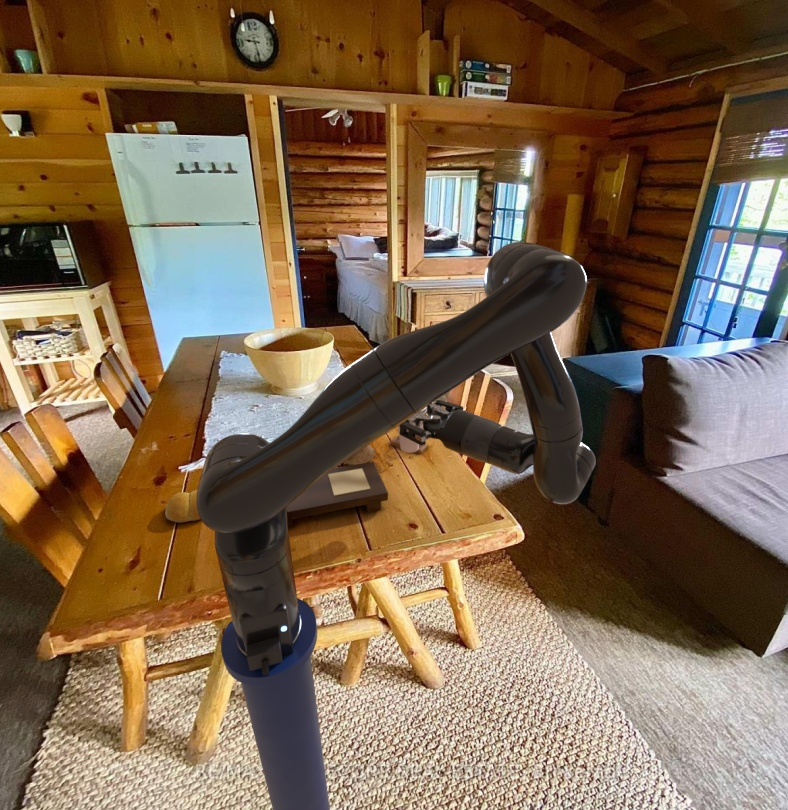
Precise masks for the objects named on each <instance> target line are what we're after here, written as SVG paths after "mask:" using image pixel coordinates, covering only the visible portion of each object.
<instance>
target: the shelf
mask: <svg viewBox="0 0 788 810" xmlns="http://www.w3.org/2000/svg"><path fill="white" fill-rule="evenodd" d="M386 501H389V492H388V489H387V488H386V485H385V484H384V481H383V479H382V476H381V475H380V473H379V471H378V468H377V466H376V463H375V461H369V462H367V463H362V464H356V465H345V466H337V467H336V468H334V469H333V470H331V471H330V472H328V473H327V474H326V475H324V476H323V477H322V478H320V479H319V480H318V481H317V482H315V483H314V484H313V485H312V486H310V487H309V488H308V489H307V490H306V491H304V492H303V493H302V494H301V495H300V496H298V497H297V498H296V499H295V500H294V501H292V502H291V503H290V504H289V505H288V506H287V516H288V529H289V528H290V529H291V528H294V523H293V520H295V519H300V518H305V517H311V516H315V515H320V514H326V513H330V512H335V511H341V510H346V509H351V508H355V507H361V506H364V508H365V510H366V512H367V513H370V512H374V511H375V512H376V511H380V510H382V502H386Z"/></svg>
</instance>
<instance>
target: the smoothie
mask: <svg viewBox="0 0 788 810" xmlns="http://www.w3.org/2000/svg"><path fill="white" fill-rule="evenodd" d="M426 412H427V407H425V408H424V409H423V410H421V411H420V412H419V413H417V412H416V413H417V414H415V415H414V416H412V417H416V416H417V415H423V416H426V414H427V413H428V412H427V413H426ZM425 413H426V414H425ZM410 424H412V425H414V426H415V423H414V422H410ZM420 428H423V421H420ZM397 431H398V436H399V439H400V447H401V448H400V450H401V451H402V452H404V453H410V454H411V453H416V451H417V450H418V449H419V444H417V443H415V442H413V441H411V440H409V439H407V438H405V437H403V436H401V435H400V426H397ZM407 432H408V431H407Z"/></svg>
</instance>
